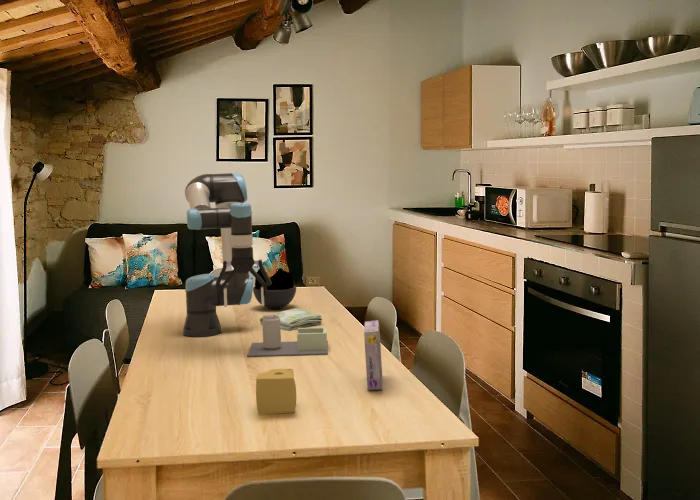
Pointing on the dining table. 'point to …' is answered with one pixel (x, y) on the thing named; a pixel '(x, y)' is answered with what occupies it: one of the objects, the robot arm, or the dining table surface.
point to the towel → (297, 319)
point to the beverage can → (271, 331)
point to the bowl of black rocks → (276, 290)
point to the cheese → (276, 392)
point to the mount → (296, 345)
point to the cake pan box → (373, 355)
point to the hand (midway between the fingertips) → (244, 305)
